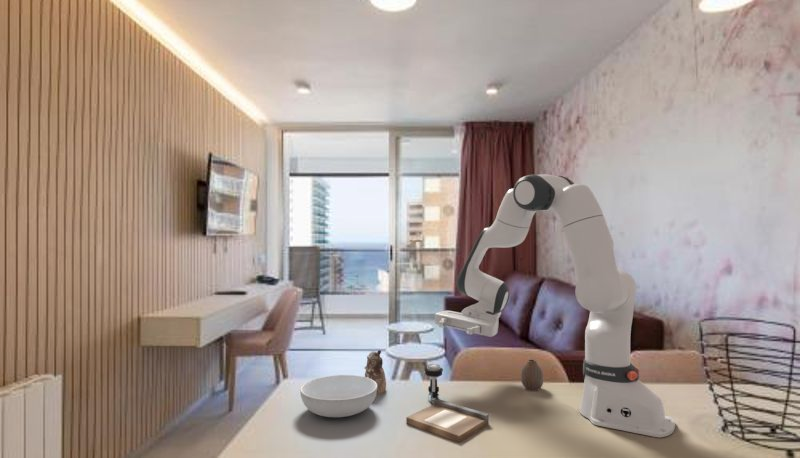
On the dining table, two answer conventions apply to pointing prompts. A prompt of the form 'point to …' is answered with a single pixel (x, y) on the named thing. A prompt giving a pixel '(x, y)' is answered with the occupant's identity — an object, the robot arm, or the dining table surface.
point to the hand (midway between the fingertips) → (454, 328)
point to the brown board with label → (449, 420)
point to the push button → (433, 380)
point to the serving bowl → (338, 395)
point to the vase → (532, 376)
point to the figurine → (376, 371)
